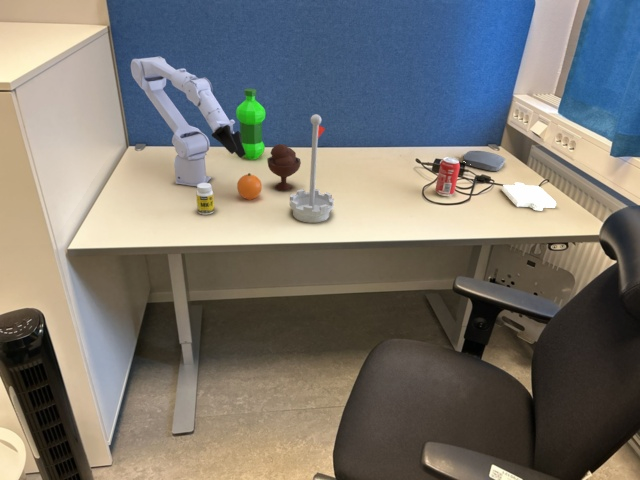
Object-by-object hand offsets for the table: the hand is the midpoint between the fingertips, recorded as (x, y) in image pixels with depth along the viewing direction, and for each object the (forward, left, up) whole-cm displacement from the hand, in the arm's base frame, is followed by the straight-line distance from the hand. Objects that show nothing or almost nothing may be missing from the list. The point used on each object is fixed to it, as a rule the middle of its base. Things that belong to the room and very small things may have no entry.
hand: (238, 153), depth 136 cm
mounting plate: (+90, +33, -16) cm, 98 cm away
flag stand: (+22, -1, -16) cm, 28 cm away
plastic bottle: (-10, +38, -16) cm, 43 cm away
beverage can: (+62, +28, -16) cm, 71 cm away
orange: (+1, +4, -16) cm, 17 cm away
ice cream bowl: (+9, +15, -16) cm, 24 cm away
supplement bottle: (-8, -9, -16) cm, 20 cm away
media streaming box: (+78, +63, -16) cm, 102 cm away
